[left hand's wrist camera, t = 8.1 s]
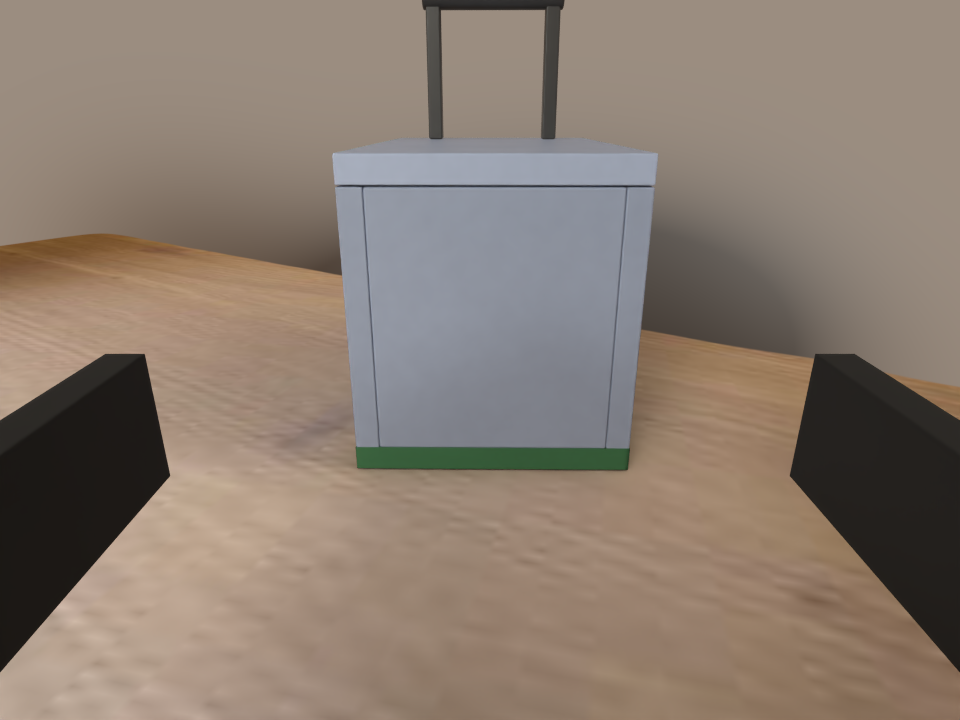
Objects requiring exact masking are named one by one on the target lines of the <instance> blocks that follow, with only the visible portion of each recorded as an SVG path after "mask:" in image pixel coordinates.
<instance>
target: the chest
mask: <svg viewBox="0 0 960 720" xmlns="http://www.w3.org/2000/svg"><path fill="white" fill-rule="evenodd" d="M335 192H336V205H337V217H338V229H339V241H340V253H341V265H342V278H343V290H344V302H345V314H346V327H347V339H348V351H349V363H350V375H351V388H352V400H353V412H354V424H355V436H356V456H357V468H416V469H573V470H628V462H629V452H630V448H629V445H630V435H631V425H632V415H633V405H634V395H635V384H636V374H637V364H638V354H639V344H640V334H641V324H642V314H643V303H644V293H645V283H646V273H647V263H648V253H649V242H650V233H651V223H652V212H653V202H654V192H655V189H654V187H651V186H563V185H340V186H337V187H336V188H335Z"/></svg>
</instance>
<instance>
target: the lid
mask: <svg viewBox="0 0 960 720" xmlns="http://www.w3.org/2000/svg"><path fill="white" fill-rule="evenodd" d="M422 5H423V9H424V10H426V35H427V71H428V107H429V138H399V139H395V140H390V141H386V142H381V143H377V144H372V145H368V146H364V147H359V148H354V149H350V150H346V151H341V152H337V153H333V155H332V156H333V168H334V180H335V185H563V186H654V185H655V183H656V173H657V163H658V154H657V153H653V152H648V151H643V150H638V149H633V148H628V147H624V146H619V145H614V144H609V143H604V142H600V141H595V140H590V139H585V138H555V129H556V105H557V81H558V56H559V31H560V10H562V9H563V6H564V0H422ZM441 10H545V32H544V62H543V92H542V122H541V138H443V96H442V47H441Z"/></svg>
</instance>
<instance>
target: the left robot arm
mask: <svg viewBox="0 0 960 720" xmlns="http://www.w3.org/2000/svg"><path fill="white" fill-rule="evenodd" d="M169 477H170V473H169V468H168V463H167V458H166V454H165V449H164V444H163V439H162V434H161V430H160V425H159V420H158V415H157V411H156V406H155V401H154V396H153V392H152V387H151V382H150V377H149V373H148V368H147V363H146V358H145V354H105V355H103V356H102V357H100V358H98V359H97V360H95V361H94V362H92V363H90V364H89V365H87V366H86V367H84V368H83V369H81V370H79V371H78V372H76V373H75V374H73V375H71V376H70V377H68V378H67V379H65V380H64V381H62V382H60V383H59V384H57V385H56V386H54V387H52V388H51V389H49V390H48V391H46V392H44V393H43V394H41V395H40V396H38V397H37V398H35V399H33V400H32V401H30V402H29V403H27V404H25V405H24V406H22V407H21V408H19V409H18V410H16V411H14V412H13V413H11V414H10V415H8V416H6V417H5V418H3V419H2V420H0V672H1V671H2V670H3V668H4V667H5V666H6V665H7V664H8V663H9V661H10V660H11V659H12V658H13V657H14V656H15V655H16V653H17V652H18V651H19V650H20V649H21V648H22V646H23V645H24V644H25V643H26V642H27V641H28V639H29V638H30V637H31V636H32V635H33V634H34V633H35V631H36V630H37V629H38V628H39V627H40V626H41V624H42V623H43V622H44V621H45V620H46V619H47V618H48V616H49V615H50V614H51V613H52V612H53V611H54V609H55V608H56V607H57V606H58V605H59V604H60V603H61V601H62V600H63V599H64V598H65V597H66V596H67V594H68V593H69V592H70V591H71V590H72V589H73V587H74V586H75V585H76V584H77V583H78V582H79V581H80V579H81V578H82V577H83V576H84V575H85V574H86V572H87V571H88V570H89V569H90V568H91V567H92V566H93V564H94V563H95V562H96V561H97V560H98V559H99V557H100V556H101V555H102V554H103V553H104V552H105V550H106V549H107V548H108V547H109V546H110V545H111V544H112V542H113V541H114V540H115V539H116V538H117V537H118V535H119V534H120V533H121V532H122V531H123V530H124V529H125V527H126V526H127V525H128V524H129V523H130V522H131V520H132V519H133V518H134V517H135V516H136V515H137V513H138V512H139V511H140V510H141V509H142V508H143V507H144V505H145V504H146V503H147V502H148V501H149V500H150V498H151V497H152V496H153V495H154V494H155V493H156V492H157V490H158V489H159V488H160V487H161V486H162V485H163V483H164V482H165V481H166V480H167V479H168V478H169ZM790 477H791V478H792V479H793V480H794V481H795V482H796V483H797V485H798V486H799V487H800V488H801V489H802V490H803V492H804V493H805V494H806V495H807V496H808V497H809V498H810V500H811V501H812V502H813V503H814V504H815V505H816V507H817V508H818V509H819V510H820V511H821V512H822V514H823V515H824V516H825V517H826V518H827V519H828V520H829V522H830V523H831V524H832V525H833V526H834V527H835V529H836V530H837V531H838V532H839V533H840V534H841V535H842V537H843V538H844V539H845V540H846V541H847V542H848V544H849V545H850V546H851V547H852V548H853V549H854V550H855V552H856V553H857V554H858V555H859V556H860V557H861V559H862V560H863V561H864V562H865V563H866V564H867V566H868V567H869V568H870V569H871V570H872V571H873V572H874V574H875V575H876V576H877V577H878V578H879V579H880V581H881V582H882V583H883V584H884V585H885V586H886V587H887V589H888V590H889V591H890V592H891V593H892V594H893V596H894V597H895V598H896V599H897V600H898V601H899V603H900V604H901V605H902V606H903V607H904V608H905V609H906V611H907V612H908V613H909V614H910V615H911V616H912V618H913V619H914V620H915V621H916V622H917V623H918V624H919V626H920V627H921V628H922V629H923V630H924V631H925V633H926V634H927V635H928V636H929V637H930V638H931V639H932V641H933V642H934V643H935V644H936V645H937V646H938V648H939V649H940V650H941V651H942V652H943V653H944V655H945V656H946V657H947V658H948V659H949V660H950V661H951V663H952V664H953V665H954V666H955V667H956V668H957V670H958V671H959V672H960V420H958V419H957V418H955V417H954V416H952V415H950V414H949V413H947V412H946V411H944V410H942V409H941V408H939V407H938V406H936V405H935V404H933V403H931V402H930V401H928V400H927V399H925V398H923V397H922V396H920V395H919V394H917V393H916V392H914V391H912V390H911V389H909V388H908V387H906V386H904V385H903V384H901V383H900V382H898V381H896V380H895V379H893V378H892V377H890V376H889V375H887V374H885V373H884V372H882V371H881V370H879V369H877V368H876V367H874V366H873V365H871V364H870V363H868V362H866V361H865V360H863V359H862V358H860V357H858V356H857V355H855V354H815V358H814V363H813V368H812V373H811V377H810V382H809V387H808V392H807V396H806V401H805V406H804V411H803V415H802V420H801V425H800V430H799V434H798V439H797V444H796V449H795V454H794V458H793V463H792V468H791V473H790Z"/></svg>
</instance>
